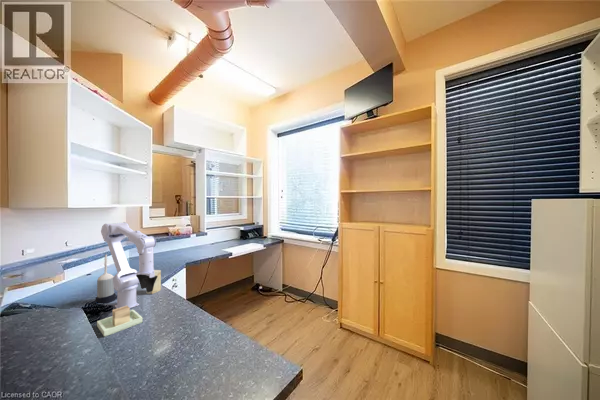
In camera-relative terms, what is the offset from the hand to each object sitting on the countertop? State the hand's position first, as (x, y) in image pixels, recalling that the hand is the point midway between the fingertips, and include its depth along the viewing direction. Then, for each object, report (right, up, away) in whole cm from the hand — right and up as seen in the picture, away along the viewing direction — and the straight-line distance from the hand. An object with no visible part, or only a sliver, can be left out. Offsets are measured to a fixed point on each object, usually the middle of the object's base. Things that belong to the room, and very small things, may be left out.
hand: (146, 289), depth 104 cm
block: (-3, -10, -11) cm, 15 cm away
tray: (-4, -10, -11) cm, 16 cm away
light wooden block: (-13, -11, +23) cm, 29 cm away
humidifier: (-31, -11, +12) cm, 35 cm away
